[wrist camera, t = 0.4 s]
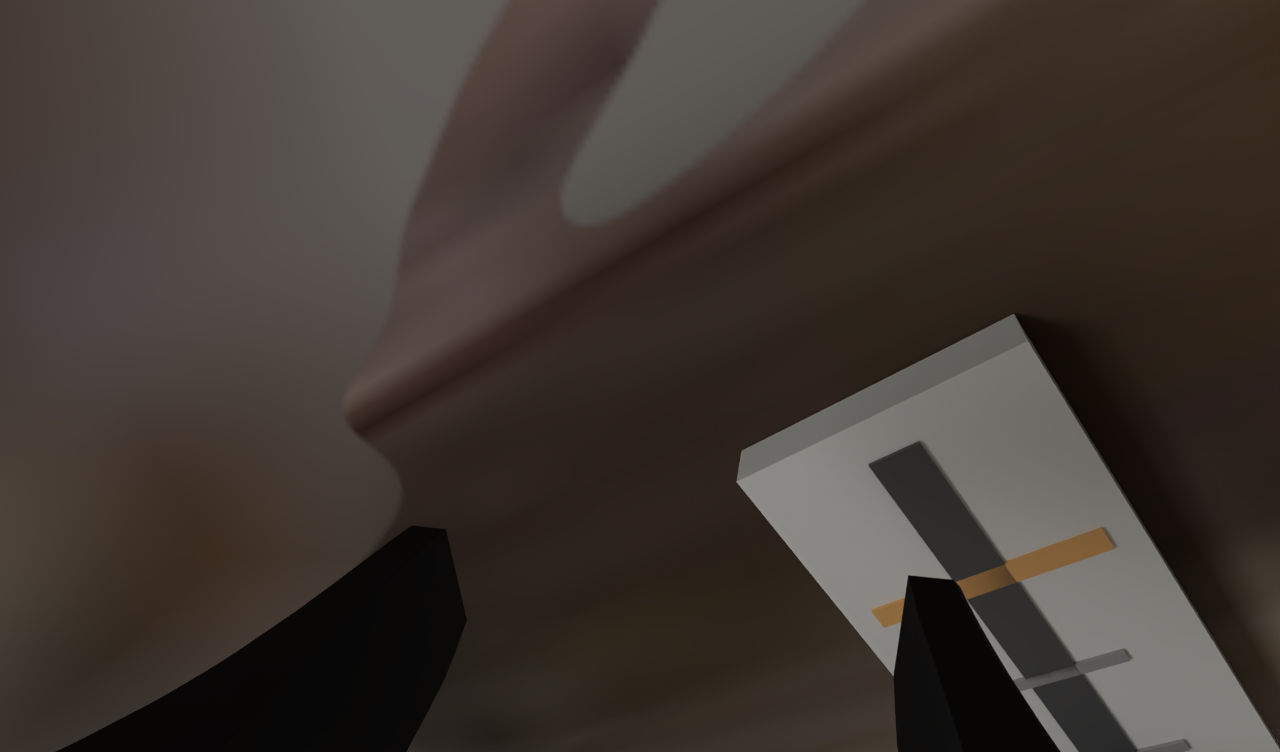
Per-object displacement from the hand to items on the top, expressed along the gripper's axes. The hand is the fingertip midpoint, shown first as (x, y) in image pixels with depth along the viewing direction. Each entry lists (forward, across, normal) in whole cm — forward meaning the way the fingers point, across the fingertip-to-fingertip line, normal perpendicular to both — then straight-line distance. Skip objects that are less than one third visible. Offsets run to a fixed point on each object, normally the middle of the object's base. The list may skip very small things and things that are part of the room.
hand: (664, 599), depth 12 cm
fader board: (+10, -9, +10) cm, 17 cm away
